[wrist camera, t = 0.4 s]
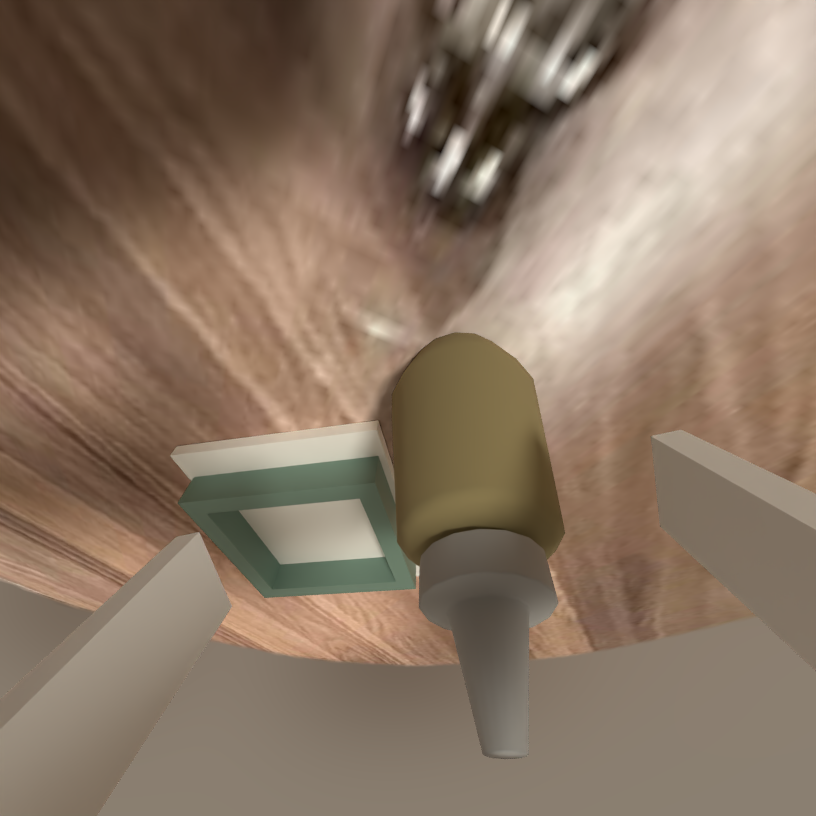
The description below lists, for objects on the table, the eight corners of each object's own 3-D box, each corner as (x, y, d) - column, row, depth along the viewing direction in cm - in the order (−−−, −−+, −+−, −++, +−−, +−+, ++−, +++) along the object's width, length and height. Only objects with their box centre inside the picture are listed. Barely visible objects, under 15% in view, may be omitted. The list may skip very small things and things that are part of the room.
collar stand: (176, 446, 29) (150, 481, 26) (378, 420, 27) (372, 456, 24) (280, 575, 41) (270, 609, 38) (425, 566, 39) (425, 601, 36)
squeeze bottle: (464, 438, 27) (505, 788, 13) (370, 382, 25) (297, 750, 11) (552, 362, 23) (747, 757, 9) (450, 284, 20) (506, 682, 6)
